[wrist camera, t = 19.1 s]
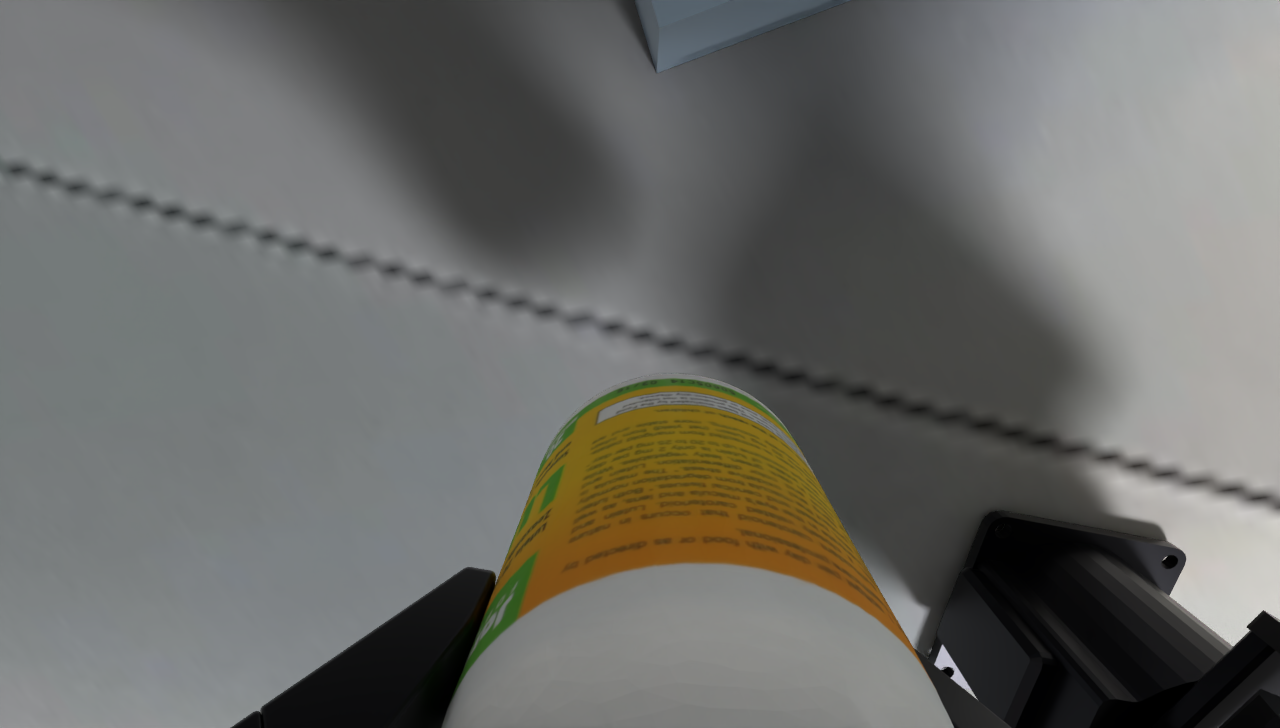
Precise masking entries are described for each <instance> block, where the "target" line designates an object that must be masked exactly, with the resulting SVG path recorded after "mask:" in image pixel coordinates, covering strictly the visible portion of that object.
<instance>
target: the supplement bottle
mask: <svg viewBox="0 0 1280 728" xmlns="http://www.w3.org/2000/svg"><path fill="white" fill-rule="evenodd" d="M441 728H954V726H953V724H952V722H951V720H950V718H949V716H948V714H947V712H946V710H945V708H944V706H943V704H942V702H941V700H940V697H939V695H938V693H937V691H936V688H935V687H934V685H933V683H932V681H931V679H930V678H929V676H928V674H927V672H926V670H925V668H924V667H923V665H922V663H921V661H920V659H919V658H918V656H917V654H916V652H915V650H914V649H913V647H912V645H911V643H910V641H909V640H908V638H907V636H906V635H905V633H904V631H903V630H902V628H901V626H900V624H899V623H898V621H897V619H896V618H895V616H894V614H893V612H892V611H891V609H890V607H889V605H888V604H887V602H886V600H885V598H884V597H883V595H882V593H881V592H880V590H879V588H878V586H877V585H876V583H875V581H874V579H873V578H872V576H871V574H870V572H869V571H868V569H867V567H866V565H865V564H864V562H863V560H862V558H861V557H860V555H859V553H858V551H857V549H856V548H855V546H854V544H853V543H852V541H851V539H850V537H849V536H848V534H847V532H846V531H845V529H844V527H843V525H842V523H841V522H840V520H839V518H838V516H837V514H836V513H835V511H834V509H833V507H832V505H831V504H830V502H829V500H828V498H827V497H826V495H825V493H824V491H823V489H822V488H821V486H820V484H819V482H818V480H817V479H816V477H815V475H814V473H813V471H812V469H811V468H810V466H809V464H808V462H807V460H806V459H805V457H804V455H803V453H802V451H801V450H800V448H799V446H798V445H797V443H796V442H795V440H794V439H793V437H792V436H791V434H790V433H789V431H788V430H787V429H786V427H785V426H784V424H783V423H782V422H781V421H780V420H779V418H778V417H777V416H776V415H775V414H774V413H773V412H772V411H771V410H770V409H768V408H767V407H766V406H765V405H764V404H762V403H761V402H760V401H758V400H757V399H756V398H754V397H753V396H751V395H750V394H748V393H746V392H745V391H743V390H741V389H739V388H737V387H734V386H732V385H730V384H727V383H724V382H722V381H719V380H715V379H712V378H708V377H703V376H698V375H691V374H673V373H670V374H655V375H649V376H644V377H640V378H636V379H632V380H629V381H626V382H623V383H621V384H618V385H615V386H613V387H611V388H609V389H607V390H605V391H603V392H601V393H599V394H598V395H596V396H595V397H593V398H592V399H590V400H589V401H587V402H586V403H585V404H584V405H582V406H581V407H580V408H579V409H577V410H576V411H575V412H574V413H573V414H572V415H571V416H570V417H569V419H568V420H567V421H566V422H565V423H564V425H563V426H562V427H561V428H560V429H559V431H558V433H557V434H556V436H555V437H554V439H553V440H552V442H551V444H550V446H549V448H548V450H547V452H546V454H545V456H544V458H543V460H542V463H541V465H540V468H539V470H538V473H537V475H536V478H535V481H534V484H533V487H532V490H531V492H530V495H529V498H528V500H527V503H526V506H525V508H524V511H523V513H522V516H521V519H520V522H519V525H518V527H517V530H516V532H515V535H514V537H513V540H512V543H511V545H510V548H509V551H508V553H507V556H506V559H505V561H504V564H503V567H502V569H501V572H500V574H499V577H498V580H497V582H496V585H495V587H494V590H493V593H492V595H491V598H490V600H489V603H488V605H487V608H486V611H485V613H484V616H483V619H482V621H481V624H480V626H479V629H478V632H477V634H476V637H475V640H474V642H473V645H472V647H471V650H470V653H469V655H468V658H467V660H466V663H465V665H464V668H463V671H462V674H461V676H460V678H459V681H458V683H457V686H456V688H455V691H454V693H453V696H452V698H451V701H450V703H449V706H448V708H447V711H446V715H445V718H444V721H443V724H442V727H441Z"/></svg>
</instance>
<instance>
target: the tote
mask: <svg viewBox="0 0 1280 728" xmlns="http://www.w3.org/2000/svg"><path fill="white" fill-rule="evenodd" d="M634 1H635V4H636V8H637V11H638V14H639V17H640V21H641V24H642V27H643V30H644V34H645V37H646V40H647V43H648V47H649V50H650V53H651V56H652V60H653V63H654V66H655V69H656V72H657V73H659V72H662V71H664V70H667V69H670V68H672V67H675V66H677V65H680V64H683V63H685V62H688V61H691V60H693V59H696V58H699V57H701V56H704V55H707V54H709V53H712V52H715V51H717V50H720V49H723V48H725V47H728V46H731V45H733V44H736V43H739V42H741V41H744V40H747V39H749V38H752V37H755V36H757V35H760V34H763V33H765V32H768V31H771V30H773V29H776V28H779V27H781V26H784V25H787V24H789V23H792V22H795V21H797V20H800V19H803V18H805V17H808V16H811V15H813V14H816V13H819V12H821V11H824V10H827V9H829V8H832V7H835V6H837V5H840V4H843V3H845V2H848V1H851V0H634Z"/></svg>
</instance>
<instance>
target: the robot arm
mask: <svg viewBox="0 0 1280 728" xmlns="http://www.w3.org/2000/svg"><path fill="white" fill-rule="evenodd" d="M1001 524H1005V526H1004V527H1003V529H1002V530H1000V531H995V530H996V528H997V527H998V526H999V525H1001ZM1166 556H1167V558H1166V559H1165V560H1163V559H1164V558H1165V557H1166ZM1162 560H1163V561H1162ZM1185 562H1186V556H1185V554H1184V553H1183V551H1182V550H1180V549H1179V548H1177V547H1176V546H1174V545H1173V544H1171V543H1169V542H1166V541H1161V540H1156V539H1150V538H1145V537H1140V536H1134V535H1129V534H1124V533H1118V532H1113V531H1108V530H1102V529H1097V528H1092V527H1086V526H1081V525H1076V524H1070V523H1065V522H1060V521H1054V520H1049V519H1044V518H1038V517H1033V516H1028V515H1022V514H1017V513H1012V512H1006V511H994V512H991V513H989V514H988V515H986V516H985V517H984V519H983V520H982V522H981V525H980V527H979V530H978V532H977V535H976V537H975V540H974V543H973V545H972V548H971V550H970V553H969V555H968V558H967V561H966V563H965V566H964V568H963V571H962V572H961V573H960V574H959V576H958V579H957V581H956V584H955V587H954V589H953V592H952V594H951V597H950V599H949V602H948V605H947V607H946V610H945V612H944V615H943V618H942V620H941V623H940V625H939V628H938V630H937V638H936V640H935V643H934V645H933V648H932V650H931V653H930V656H929V658H928V659H927V658H925V657H924V656H923V655H922V654H920V653H919V652H918V651H917V650H916V649H914V648H913V649H914V650H915V652H916V654H917V656H918V658H919V659H920V661H921V663H922V665H923V667H924V668H925V670H926V672H927V674H928V676H929V678H930V679H931V681H932V683H933V685H934V687H935V688H936V691H937V693H938V695H939V697H940V700H941V702H942V704H943V706H944V708H945V710H946V712H947V714H948V716H949V718H950V720H951V722H952V724H953V726H954V728H1280V620H1279V619H1277V618H1276V617H1274V616H1272V615H1271V614H1269V613H1267V612H1266V611H1264V610H1263V611H1262V612H1261V613H1260V614H1259V615H1258V616H1257V617H1256V618H1255V619H1254V620H1253V621H1252V622H1251V623H1250V624H1249V625H1248V626H1247V628H1248V629H1249V630H1250V631H1249V632H1248V633H1247V634H1246V635H1245V636H1244V637H1243V638H1242V639H1241V640H1240V641H1239V642H1238V643H1237V644H1236V645H1235V646H1234V647H1233V646H1232V645H1230V644H1229V643H1228V642H1226V641H1225V640H1224V639H1223V638H1221V637H1220V636H1219V635H1218V634H1216V633H1215V632H1214V631H1213V630H1211V629H1210V628H1209V627H1208V626H1206V625H1205V624H1204V623H1202V622H1201V621H1200V620H1199V619H1197V618H1196V617H1195V616H1194V615H1192V614H1191V613H1190V612H1189V611H1187V610H1186V609H1185V608H1184V607H1182V606H1181V605H1180V604H1178V603H1177V602H1176V601H1175V600H1173V599H1172V598H1171V597H1170V596H1169V595H1170V593H1171V591H1172V589H1173V587H1174V585H1175V583H1176V581H1177V579H1178V577H1179V575H1180V573H1181V571H1182V569H1183V567H1184V565H1185ZM495 581H496V575H495V573H494V572H493V571H489V570H484V569H478V568H473V567H467V568H464V569H463V570H461V571H460V572H458V573H457V574H455V575H454V576H452V577H451V578H450V579H448V580H447V581H445V582H444V583H442V584H441V585H439V586H438V587H436V588H435V589H433V590H432V591H431V592H429V593H428V594H426V595H425V596H423V597H422V598H420V599H419V600H417V601H416V602H414V603H413V604H412V605H410V606H409V607H407V608H406V609H404V610H403V611H401V612H400V613H398V614H397V615H395V616H394V617H392V618H391V619H390V620H388V621H387V622H385V623H384V624H382V625H381V626H379V627H378V628H376V629H375V630H373V631H372V632H371V633H369V634H368V635H366V636H365V637H363V638H362V639H360V640H359V641H357V642H356V643H354V644H353V645H351V646H350V647H349V648H347V649H346V650H344V651H343V652H341V653H340V654H338V655H337V656H335V657H334V658H332V659H331V660H330V661H328V662H327V663H325V664H324V665H322V666H321V667H319V668H318V669H316V670H315V671H313V672H312V673H310V674H309V675H308V676H306V677H305V678H303V679H302V680H300V681H299V682H297V683H296V684H294V685H293V686H291V687H290V688H289V689H287V690H286V691H284V692H283V693H281V694H280V695H278V696H277V697H275V698H274V699H272V700H271V701H270V702H268V703H267V704H265V705H264V706H262V708H261V710H260V712H259V711H255V712H253V713H251V714H250V715H249V716H247V717H246V718H244V719H243V720H241V721H240V722H238V723H237V724H235V725H234V726H232V727H231V728H441V727H442V724H443V721H444V718H445V715H446V711H447V708H448V706H449V703H450V701H451V698H452V696H453V693H454V691H455V688H456V686H457V683H458V681H459V678H460V676H461V674H462V671H463V668H464V665H465V663H466V660H467V658H468V655H469V653H470V650H471V647H472V645H473V642H474V640H475V637H476V634H477V632H478V629H479V626H480V624H481V621H482V619H483V616H484V613H485V611H486V608H487V605H488V603H489V600H490V598H491V595H492V593H493V590H494V587H495ZM943 667H947V668H946V669H944V670H941V668H943ZM965 689H969V690H972V691H973V693H974V694H975V696H976V698H977V699H978V700H977V699H976V698H974V697H973V696H972V695H971V694H970V693H968V692H967V691H966V690H965Z"/></svg>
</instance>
